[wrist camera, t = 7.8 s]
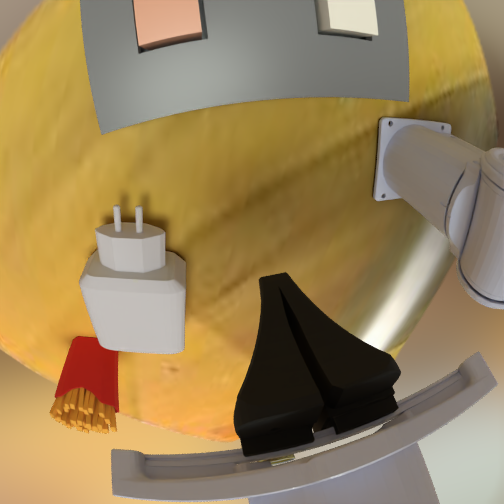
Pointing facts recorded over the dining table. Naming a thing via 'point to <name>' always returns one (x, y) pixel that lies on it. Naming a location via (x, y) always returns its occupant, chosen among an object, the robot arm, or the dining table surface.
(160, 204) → the dining table surface
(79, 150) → the dining table surface
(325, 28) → the offwhite key
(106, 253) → the charger
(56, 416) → the french fries
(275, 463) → the ceramic cup
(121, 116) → the key box
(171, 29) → the terracotta key
